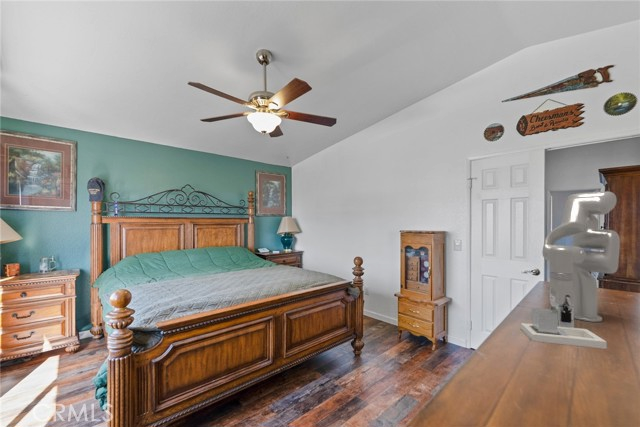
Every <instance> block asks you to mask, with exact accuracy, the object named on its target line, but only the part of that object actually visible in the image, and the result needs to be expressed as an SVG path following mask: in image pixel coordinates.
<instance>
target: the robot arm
mask: <svg viewBox="0 0 640 427" xmlns="http://www.w3.org/2000/svg"><path fill="white" fill-rule="evenodd" d="M617 201H618V200H617V196H616V194H615V193H614V192H612V191H595V192H578V193H573V194H570V195H568V197H567V200H566V202H565V206H564V211H563V215H562V218H561V224H560V225H558V226H556V227H555V228H553V230H551V231H550V232H549V233H548V234H547V236H546V237H545V238H544V243H543V247H542V252H541V254H542V257H543V258H544V260H546V261H548V262H549V263H548V264H549V285H548V286H549V288H548V290H549V291H548V299H549V300H550V294H552V295H553V296H554V297H555V303H556V304H558V305H561V308H562V312H561V321H562V322H567V323H571V313H572V308H573V313H574V320H578V321H584V322H592V323H593V322H594V323H596V322H599V323H600V322H603V317H602V316H600V315H598V292H597V291H598V288H597V286H598V285H597V280H596V278H595V277H594V276H593V275H592V274H591V273H592V272H593V273H599V274H600V273H601V274H615V273H616V272H617V271H618V268H619V260H620V248H621V244H620V242H621V241H620V240H621V239H620V236H619V234H618V233H617V232H616V231H615V230H613V229H599V220H598V217H596V216H597V215H598V216H600V215H602V216H603V215H607V214H609V212H611V211H612V210H613V209H615V207H616V205H617ZM595 215H596V216H595ZM570 236H572V244H573V245H562V244H561V245H559V244H556V243H557V242H558V241H559V240H561V239H563V238H568V237H570ZM593 250H596V251H593ZM597 250H598V251H597ZM564 303H567V305H564ZM564 306H566V308H565V309H564Z"/></svg>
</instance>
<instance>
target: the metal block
mask: <svg viewBox="0 0 640 427" xmlns="http://www.w3.org/2000/svg"><path fill="white" fill-rule="evenodd" d="M531 312H532V313H531V315H532V316H531V321H532V322H531V324H532V329H533V330H534V331H535V332H536V333H543V334H553V335H558V324H557V314H556V313H555V312H553V311H552V310H551V308H540V307H532V308H531Z"/></svg>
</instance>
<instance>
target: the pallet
mask: <svg viewBox="0 0 640 427" xmlns="http://www.w3.org/2000/svg"><path fill="white" fill-rule="evenodd" d="M520 330H521V331H522V332H523V333H524V334H525V335H526V336H527V337H528V338H529V339H530V340H531V341H532V342H538V343H547V344H557V345H566V346H572V347H573V346H574V347H575V346H576V347H585V348H594V349H602V350H607V349H608V348H607V347H608V346H607V345H608V344H607V341H606V340H605V339H603V338H602V337H599V336H598V335H596V334H595V333H594V332H592V331H590V330H589V329H587V328H578V327H574V328H569V327H558V335H553V334H543V333H536V332H535V331H534V330H533V329H532V323H523V322H521V323H520Z"/></svg>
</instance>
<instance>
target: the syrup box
mask: <svg viewBox="0 0 640 427" xmlns="http://www.w3.org/2000/svg"><path fill="white" fill-rule="evenodd" d="M549 300H550V302H549V304H550V310H552V311H553V312H555V313H556V314H557V324H558V327H569V328H575V319H574V313H573V308H572V313H571V323H567V322H562V321H561V312H562V308H561V305H558V304H556V303H555V297H554V296H553V295H552V294H550V299H549ZM564 305H567V303H564ZM565 308H566V306H564V309H565Z"/></svg>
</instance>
